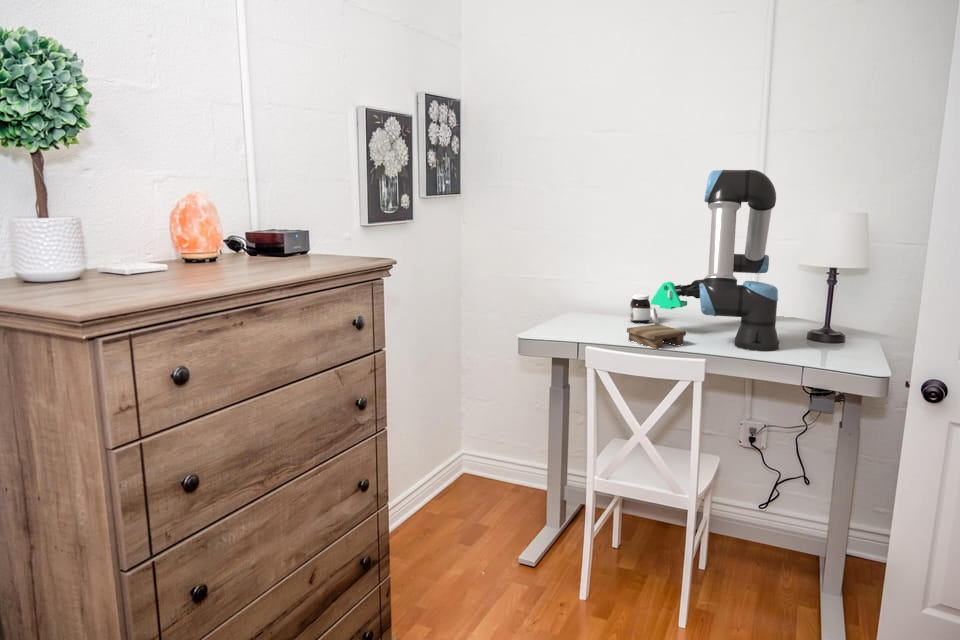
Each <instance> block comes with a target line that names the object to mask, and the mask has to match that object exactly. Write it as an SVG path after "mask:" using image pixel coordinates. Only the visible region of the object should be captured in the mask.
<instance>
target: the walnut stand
mask: <svg viewBox="0 0 960 640" xmlns="http://www.w3.org/2000/svg"><path fill="white" fill-rule="evenodd" d="M626 332H627V333H628V341H629V340H630V341H629V342H631V341H634V342H637V343H640V344H639V345H641V344H643V345H642V346H644V345H647V346H650V347H652V348H651V349H654V350H660V349H659V348H661V349H663V348H662V347H663V346H664V343H665V342H668V343H671V344H670V345H672V344H675V345H680V346H682V345H681V344H683V345H684V337H685V336H686V335H687V331H685V330H681V329H679V328H674V327H670V326H666V325H663V324H659V323H657V324H648V325H642V326H641V325H640V326H634V327H627V328H626ZM663 341H664V342H663ZM634 342H633V343H634ZM637 343H636V344H637ZM668 343H667V344H668ZM675 345H674V346H675ZM647 346H646V347H647ZM650 347H649V348H650Z"/></svg>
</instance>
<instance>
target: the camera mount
mask: <svg viewBox="0 0 960 640" xmlns="http://www.w3.org/2000/svg"><path fill="white" fill-rule="evenodd" d="M675 286H676V285H675V283H673V282H672V281H665V282H662V284H661V285H660V287H659V288H658V289H659V290H658V289H657V291H656V293H655V294H654V296H653V297H652V299H651V300H650V305H652V306H654V305H655V306H659V309H663V310H664V309H665V310H673V309H676V308H683V307H686V306H687V305H688V300H681V297H680V296H678V295H677V293H676V291H675ZM667 287H669V290H672V297H670V298H669V297H668V289H667Z"/></svg>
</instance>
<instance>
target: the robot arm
mask: <svg viewBox="0 0 960 640" xmlns="http://www.w3.org/2000/svg"><path fill="white" fill-rule="evenodd" d="M706 183H707V184H706V187H705V195H704V201H703V202H704V203H706V204H707V207H708V208H709V210H711V222H710V223H711V224H710V237H709V238H710V239H709V240H710V241H709V255H708V271H707V272H708V274H707V275H706V276H705V277H704V278H702V279H696V280H693V281H692V282H691V283H690V284H686V285H685V284H684V285H682V284H678V285H675V291H676V293H677V295H678V297H681V296H682V297H688V298H689V297H693V298H694V299H699V303H700V311H701V314H702V315H705V316H711V317H727V318H728V317H729V318H730V317H733V318H740V325H739V328H738V330H737V333H736V335H735V337H734V343H733V345H734V346H735V347H736V346H737V348H740V349H742V348H743V350H747V349H749V350H748V351H755V350H757V351H758V352H771V351H772V352H773V351H776V350H778V349H779V348H780V340H779V337H778V333H777V329H776V325H777V323H776V322H777V321H776V320H777V308H778V301H779V298H778V297H779V291H778V287H776V286H775V285H773V284H770V283H766V282H761V281H755V280H754V281H753V280H751V281H750V280H744V281H743V284H738V279H737V278H736V277H735V276H734V273H741V274H742V273H744V274H745V273H746V274H750V273H751V274H767V273H768V271H769V268H770V267H769V266H770V256H769V255H768V254H766V249H767V241H768V236H769V235H768V234H769V228H770V222H771V215H772V214H771V213H772V209H774V208H775V206H776V203H777V202H776V201H777V191H776V187H775V186H774V184H773V182H772V181H771V179H770V178H769V177H768V176H767V175H766V174H765V173H763V172H761V171H759V170H756V169H720V170H719V169H718V170H712V171H710V172H709V174H708V178H707V182H706ZM742 203H747V206H748V208H749V213H748V223H747V224H748V225H747V232H746V241H745V247H744V253H735V245H736V243H735V242H736V226H737V211H739V209H741V207H742ZM667 289H668V297H669V298H670V297H672V290H669V287H668V286H667ZM658 290H659V288H657V291H658Z"/></svg>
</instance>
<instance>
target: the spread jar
mask: <svg viewBox="0 0 960 640" xmlns="http://www.w3.org/2000/svg"><path fill="white" fill-rule="evenodd" d="M631 297H632V298H631V299H632V300H631V301H630V305H629V321H630V322H631V323H632V322H633V323H632V324H637V323H645V324H648V323H649V322H650V320H651V319H652V322H653V325H655V324H659V317H658V313H657V310H656V308H655V307H651V301H650V295H649V294H645V293H636V294H635V293H634V294H632V296H631Z"/></svg>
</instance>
